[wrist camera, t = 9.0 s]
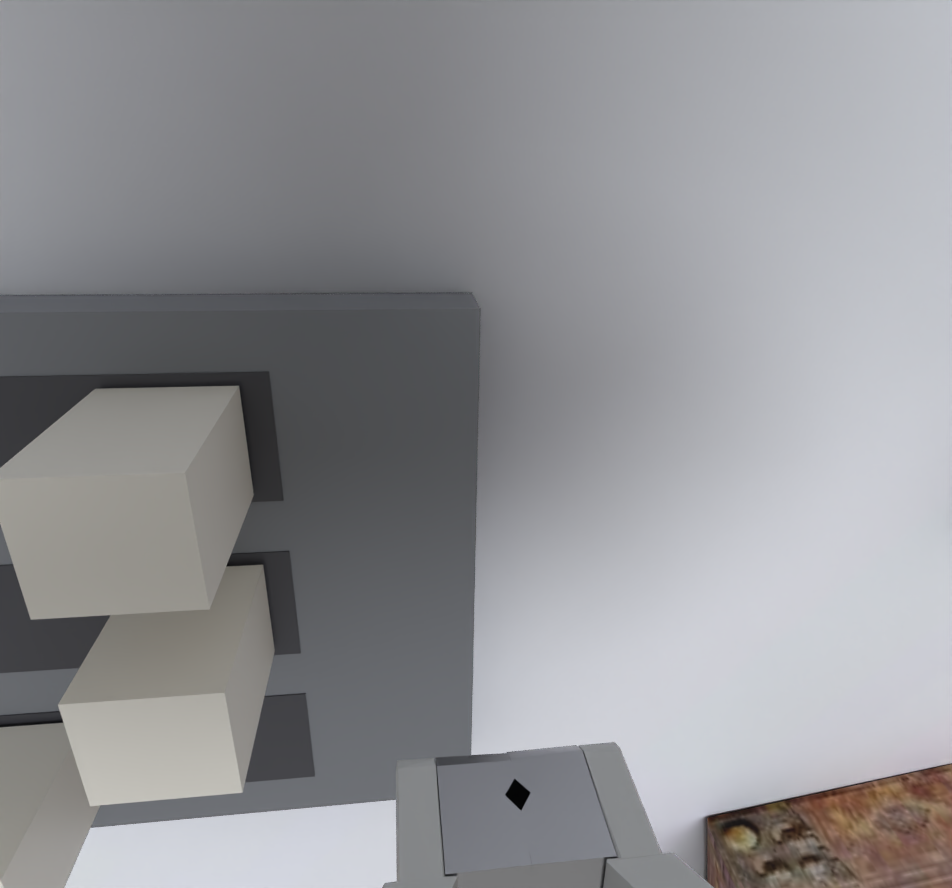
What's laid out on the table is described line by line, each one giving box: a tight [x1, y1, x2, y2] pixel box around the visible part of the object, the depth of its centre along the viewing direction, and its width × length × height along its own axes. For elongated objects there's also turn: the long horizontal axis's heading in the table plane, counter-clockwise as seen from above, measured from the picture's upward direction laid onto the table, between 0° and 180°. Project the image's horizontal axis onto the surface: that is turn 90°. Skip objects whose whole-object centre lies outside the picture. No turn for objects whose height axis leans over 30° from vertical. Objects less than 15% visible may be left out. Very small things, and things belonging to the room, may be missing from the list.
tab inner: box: [0, 386, 254, 620], centre depth 15 cm, size 3×4×5 cm
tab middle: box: [58, 565, 275, 806], centre depth 18 cm, size 3×4×5 cm
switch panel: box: [0, 293, 480, 828], centre depth 21 cm, size 18×22×2 cm
